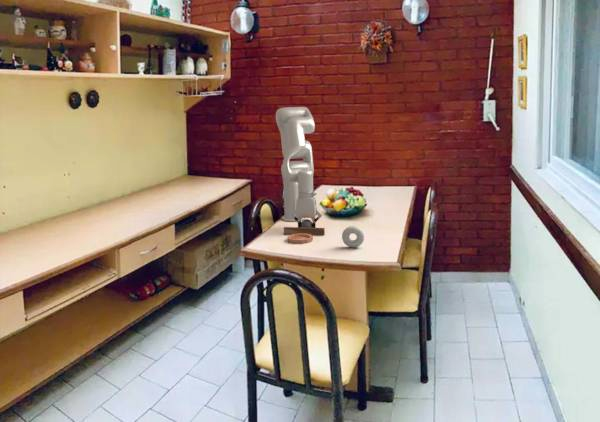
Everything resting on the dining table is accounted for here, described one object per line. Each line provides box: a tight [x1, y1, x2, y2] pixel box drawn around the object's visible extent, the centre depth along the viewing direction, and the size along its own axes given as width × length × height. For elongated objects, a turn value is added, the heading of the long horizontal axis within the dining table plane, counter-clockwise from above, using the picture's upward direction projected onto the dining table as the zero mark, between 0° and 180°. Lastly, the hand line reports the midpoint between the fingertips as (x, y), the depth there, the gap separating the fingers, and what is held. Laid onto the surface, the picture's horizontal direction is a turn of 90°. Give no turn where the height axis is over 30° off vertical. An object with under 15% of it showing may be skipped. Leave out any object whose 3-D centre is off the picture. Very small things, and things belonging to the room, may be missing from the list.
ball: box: [301, 218, 313, 228], centre depth 279 cm, size 6×6×6 cm
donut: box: [341, 225, 365, 248], centre depth 249 cm, size 10×4×10 cm, turn 76°
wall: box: [283, 226, 326, 237], centre depth 273 cm, size 1×20×4 cm, turn 79°
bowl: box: [287, 233, 314, 245], centre depth 263 cm, size 12×12×2 cm
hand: (306, 229), depth 279 cm, fingers closed on ball, 5 cm apart
